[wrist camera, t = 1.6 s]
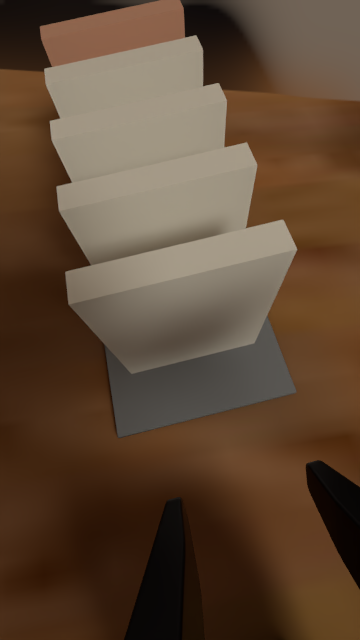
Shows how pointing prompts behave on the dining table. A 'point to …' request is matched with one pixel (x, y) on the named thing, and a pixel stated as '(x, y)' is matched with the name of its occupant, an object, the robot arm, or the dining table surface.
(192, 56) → the tile
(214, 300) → the tile
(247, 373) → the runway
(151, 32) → the tile
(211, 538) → the dining table surface
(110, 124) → the tile
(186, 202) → the tile
